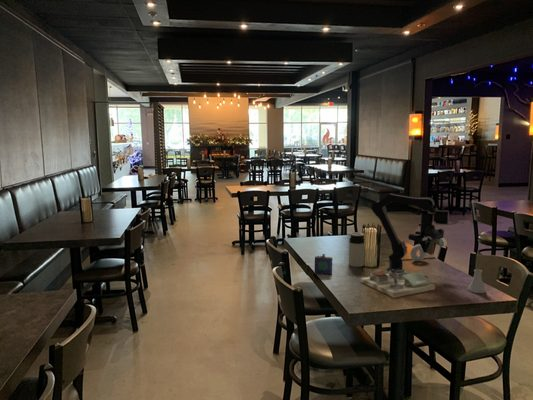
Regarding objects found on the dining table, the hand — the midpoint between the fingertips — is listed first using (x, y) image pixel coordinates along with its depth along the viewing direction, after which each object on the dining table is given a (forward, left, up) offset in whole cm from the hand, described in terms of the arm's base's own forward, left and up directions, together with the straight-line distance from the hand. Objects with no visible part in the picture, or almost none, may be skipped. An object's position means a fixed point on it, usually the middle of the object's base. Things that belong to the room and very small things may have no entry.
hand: (425, 252), depth 216 cm
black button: (+1, -18, -9) cm, 20 cm away
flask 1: (-24, -46, -12) cm, 53 cm away
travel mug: (-29, -21, -12) cm, 38 cm away
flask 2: (+28, +4, -12) cm, 31 cm away
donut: (-20, +16, -12) cm, 28 cm away
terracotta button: (+1, -30, -8) cm, 31 cm away
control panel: (+6, -24, -12) cm, 28 cm away
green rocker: (+12, -18, -8) cm, 23 cm away
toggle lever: (+12, -30, -9) cm, 34 cm away
